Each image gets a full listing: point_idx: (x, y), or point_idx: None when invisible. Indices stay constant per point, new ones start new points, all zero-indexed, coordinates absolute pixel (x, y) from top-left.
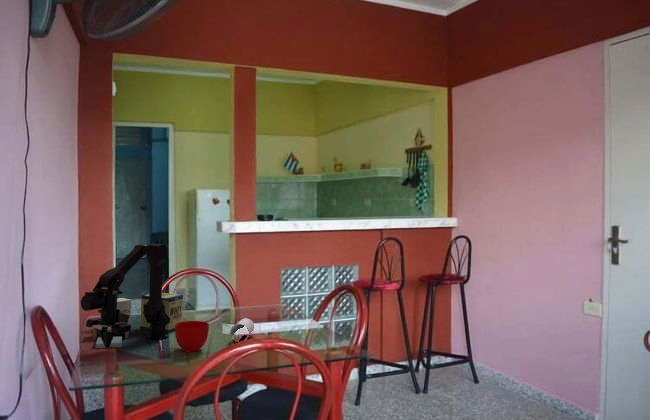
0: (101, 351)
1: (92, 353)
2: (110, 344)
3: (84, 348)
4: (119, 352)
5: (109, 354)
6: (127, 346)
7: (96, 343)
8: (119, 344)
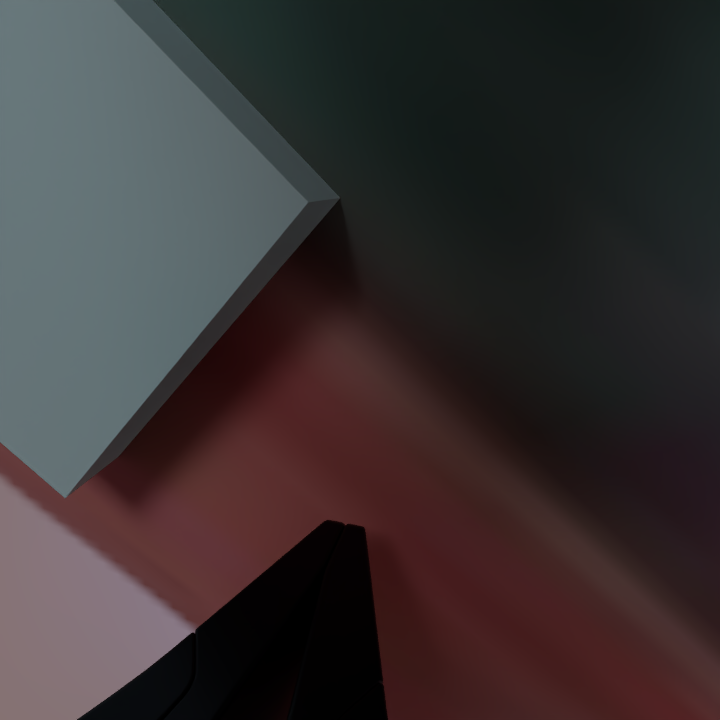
0: None
1: None
2: (196, 351)
3: (51, 517)
4: (612, 490)
5: (538, 619)
6: (427, 53)
7: (50, 478)
8: (305, 222)
